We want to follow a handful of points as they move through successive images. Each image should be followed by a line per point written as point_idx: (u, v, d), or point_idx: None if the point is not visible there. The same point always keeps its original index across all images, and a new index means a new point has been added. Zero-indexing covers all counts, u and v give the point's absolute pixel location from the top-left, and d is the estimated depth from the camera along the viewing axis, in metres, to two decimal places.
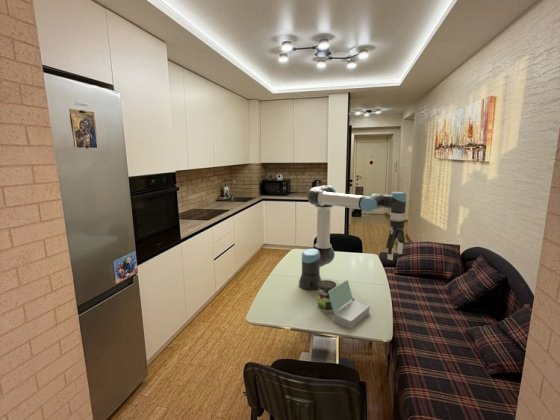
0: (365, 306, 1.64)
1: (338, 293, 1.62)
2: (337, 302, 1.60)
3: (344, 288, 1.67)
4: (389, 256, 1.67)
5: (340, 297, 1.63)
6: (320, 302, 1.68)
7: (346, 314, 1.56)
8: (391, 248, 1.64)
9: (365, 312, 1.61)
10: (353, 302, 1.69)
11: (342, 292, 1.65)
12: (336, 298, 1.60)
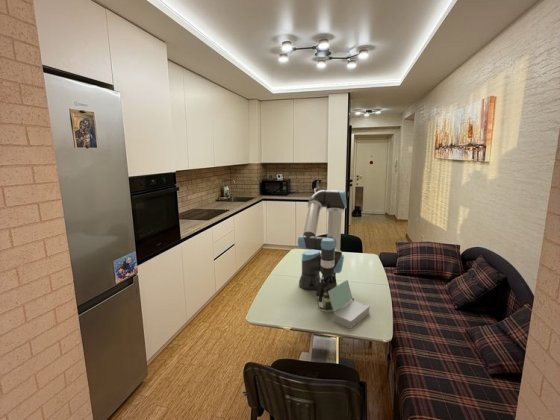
0: (365, 306, 1.64)
1: (338, 293, 1.62)
2: (337, 302, 1.60)
3: (344, 288, 1.67)
4: (320, 304, 1.67)
5: (340, 297, 1.63)
6: None
7: (346, 314, 1.56)
8: (321, 296, 1.65)
9: (365, 312, 1.61)
10: (353, 302, 1.69)
11: (342, 292, 1.65)
12: (336, 298, 1.60)
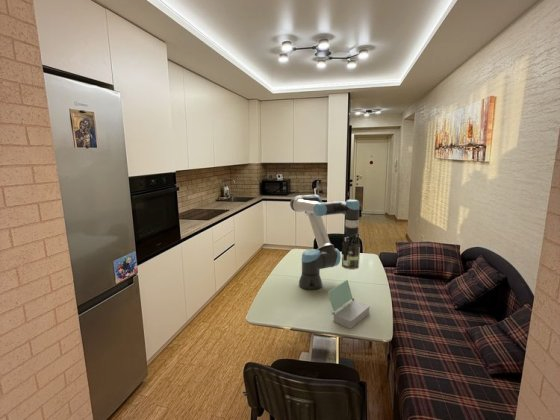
0: (365, 306, 1.64)
1: (338, 293, 1.62)
2: (337, 302, 1.60)
3: (344, 288, 1.67)
4: (345, 262, 1.76)
5: (340, 297, 1.63)
6: None
7: (346, 314, 1.56)
8: (346, 255, 1.73)
9: (365, 312, 1.61)
10: (353, 302, 1.69)
11: (342, 292, 1.65)
12: (336, 298, 1.60)
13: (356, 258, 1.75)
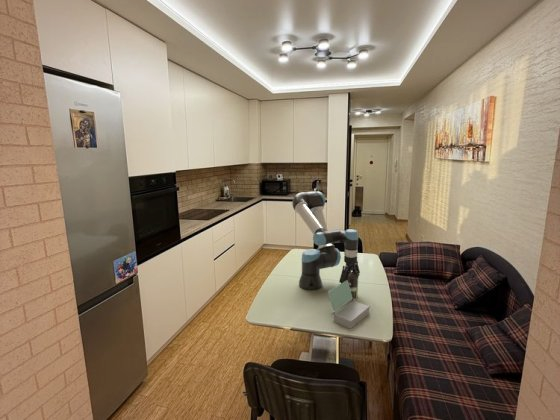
0: (365, 306, 1.64)
1: (338, 293, 1.62)
2: (337, 302, 1.60)
3: (344, 288, 1.67)
4: None
5: (340, 297, 1.63)
6: None
7: (346, 314, 1.56)
8: None
9: (365, 312, 1.61)
10: (353, 302, 1.69)
11: (342, 292, 1.65)
12: (336, 298, 1.60)
13: (355, 289, 1.79)
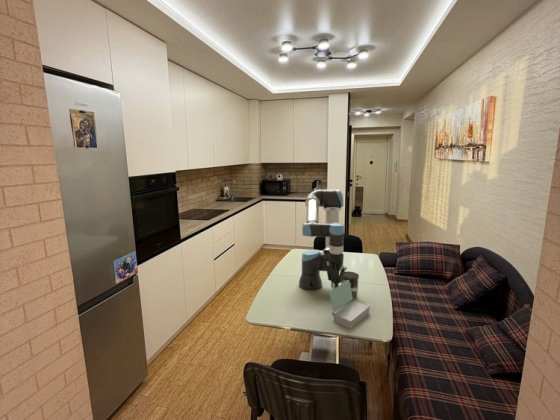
0: (365, 306, 1.64)
1: (339, 293, 1.62)
2: (337, 302, 1.60)
3: (345, 288, 1.67)
4: None
5: (341, 297, 1.63)
6: None
7: (346, 314, 1.56)
8: (331, 282, 1.65)
9: (365, 312, 1.61)
10: (353, 302, 1.69)
11: (343, 292, 1.65)
12: (337, 298, 1.60)
13: (355, 289, 1.79)
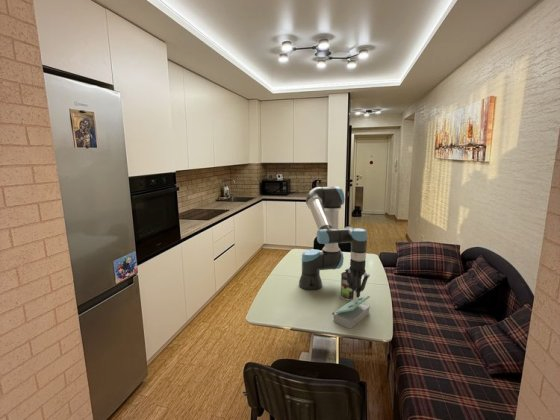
0: (365, 306, 1.64)
1: None
2: None
3: None
4: None
5: None
6: (344, 292, 1.80)
7: (346, 314, 1.56)
8: (352, 290, 1.57)
9: (365, 312, 1.61)
10: None
11: None
12: None
13: None
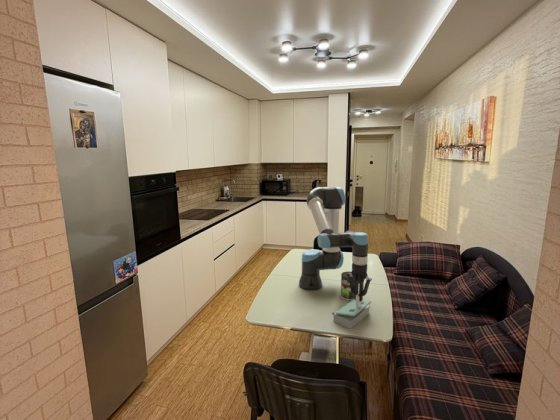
0: None
1: None
2: None
3: None
4: None
5: None
6: (344, 292, 1.80)
7: None
8: (354, 294, 1.57)
9: (365, 312, 1.61)
10: None
11: None
12: None
13: None
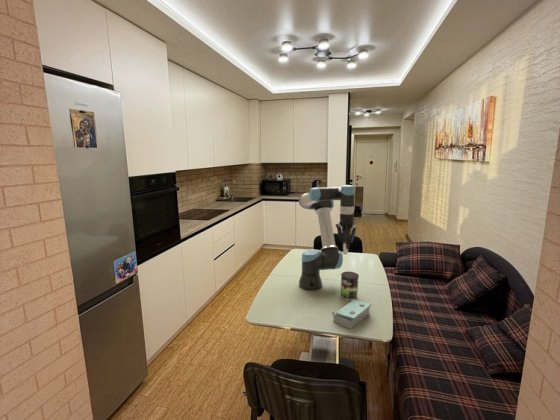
0: None
1: None
2: None
3: None
4: None
5: None
6: (344, 292, 1.80)
7: None
8: (342, 242, 1.72)
9: (365, 312, 1.61)
10: None
11: None
12: None
13: (355, 289, 1.79)
